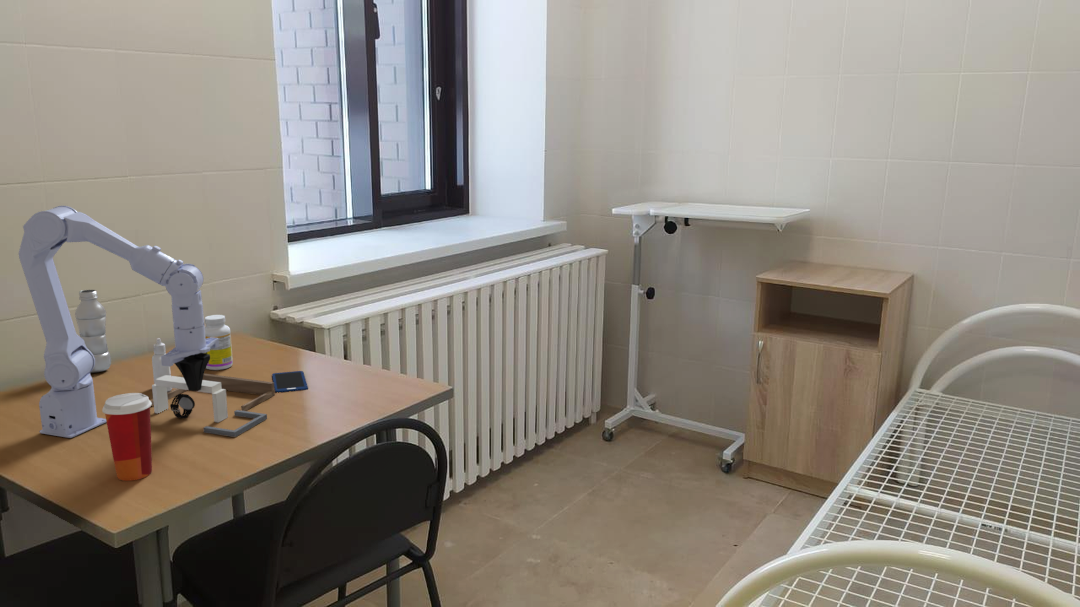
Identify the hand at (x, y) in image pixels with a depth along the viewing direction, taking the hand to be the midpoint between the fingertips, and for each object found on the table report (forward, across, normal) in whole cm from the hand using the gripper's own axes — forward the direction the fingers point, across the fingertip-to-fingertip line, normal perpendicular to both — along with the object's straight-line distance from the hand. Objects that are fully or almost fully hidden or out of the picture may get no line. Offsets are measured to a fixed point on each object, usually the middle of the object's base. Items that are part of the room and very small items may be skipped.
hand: (194, 389), depth 168 cm
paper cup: (+7, -24, -7) cm, 26 cm away
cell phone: (+7, +28, -3) cm, 29 cm away
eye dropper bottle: (+7, +14, +21) cm, 26 cm away
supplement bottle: (+7, +32, +20) cm, 38 cm away
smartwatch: (+7, +1, +4) cm, 8 cm away
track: (+7, +8, +5) cm, 12 cm away
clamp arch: (+7, +2, +4) cm, 8 cm away
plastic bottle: (+7, +18, +45) cm, 49 cm away
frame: (+7, +1, -8) cm, 11 cm away
